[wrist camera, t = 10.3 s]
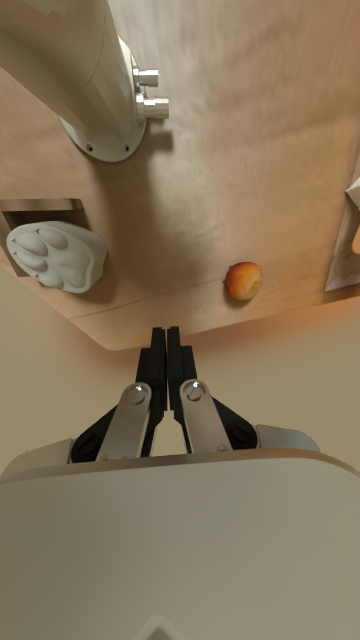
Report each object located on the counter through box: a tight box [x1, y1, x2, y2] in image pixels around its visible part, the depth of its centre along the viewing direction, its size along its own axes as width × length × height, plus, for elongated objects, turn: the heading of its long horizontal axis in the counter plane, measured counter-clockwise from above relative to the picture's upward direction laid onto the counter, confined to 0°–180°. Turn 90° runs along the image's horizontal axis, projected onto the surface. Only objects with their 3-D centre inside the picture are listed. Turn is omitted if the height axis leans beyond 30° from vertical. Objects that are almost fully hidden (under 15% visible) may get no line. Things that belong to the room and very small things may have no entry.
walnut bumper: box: [0, 198, 83, 277], centre depth 32 cm, size 14×12×4 cm
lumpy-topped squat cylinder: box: [6, 220, 107, 293], centre depth 31 cm, size 10×13×9 cm
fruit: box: [222, 262, 263, 301], centre depth 38 cm, size 8×8×8 cm
